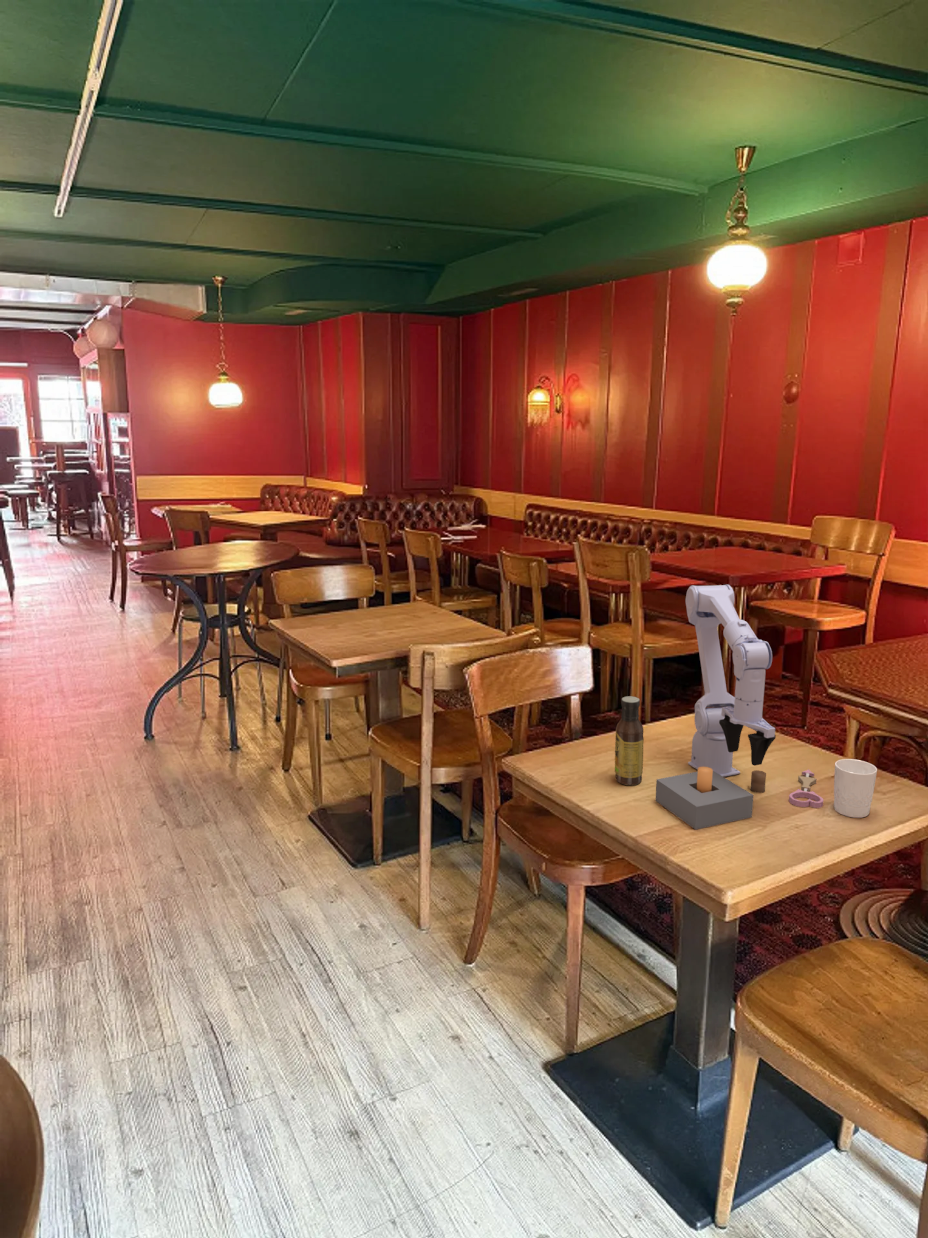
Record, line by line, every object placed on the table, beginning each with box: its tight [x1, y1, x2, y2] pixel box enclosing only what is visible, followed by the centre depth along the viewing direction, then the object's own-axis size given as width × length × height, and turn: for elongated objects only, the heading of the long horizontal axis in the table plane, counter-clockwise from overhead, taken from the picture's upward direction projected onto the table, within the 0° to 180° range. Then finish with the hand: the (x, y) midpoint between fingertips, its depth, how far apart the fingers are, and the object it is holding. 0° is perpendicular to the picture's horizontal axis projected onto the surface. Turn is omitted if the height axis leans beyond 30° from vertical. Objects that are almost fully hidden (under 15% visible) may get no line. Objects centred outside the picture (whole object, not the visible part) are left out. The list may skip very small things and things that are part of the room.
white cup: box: [833, 758, 878, 819], centre depth 170 cm, size 8×8×10 cm
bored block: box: [655, 771, 754, 830], centre depth 172 cm, size 14×14×5 cm
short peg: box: [750, 770, 767, 794], centre depth 180 cm, size 3×3×4 cm
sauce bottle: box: [614, 695, 645, 786], centre depth 184 cm, size 6×6×20 cm
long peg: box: [697, 767, 713, 793], centre depth 171 cm, size 3×3×9 cm
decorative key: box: [788, 768, 824, 809], centre depth 181 cm, size 7×1×20 cm
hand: (744, 757), depth 175 cm, fingers open, 7 cm apart
